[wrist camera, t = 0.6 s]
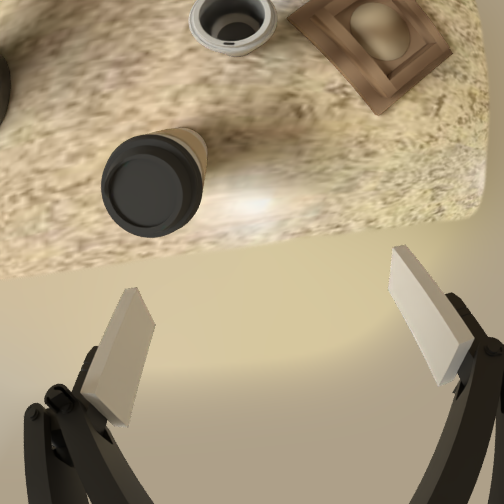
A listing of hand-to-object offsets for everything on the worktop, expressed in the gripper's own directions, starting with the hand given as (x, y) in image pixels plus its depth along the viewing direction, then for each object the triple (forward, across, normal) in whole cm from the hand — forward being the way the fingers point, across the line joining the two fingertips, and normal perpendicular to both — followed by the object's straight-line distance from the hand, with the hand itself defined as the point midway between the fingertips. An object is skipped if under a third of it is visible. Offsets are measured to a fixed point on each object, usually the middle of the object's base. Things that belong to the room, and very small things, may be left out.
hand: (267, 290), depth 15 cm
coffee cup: (+24, -9, +3) cm, 26 cm away
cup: (+24, +1, +16) cm, 29 cm away
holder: (+24, +18, +16) cm, 34 cm away
